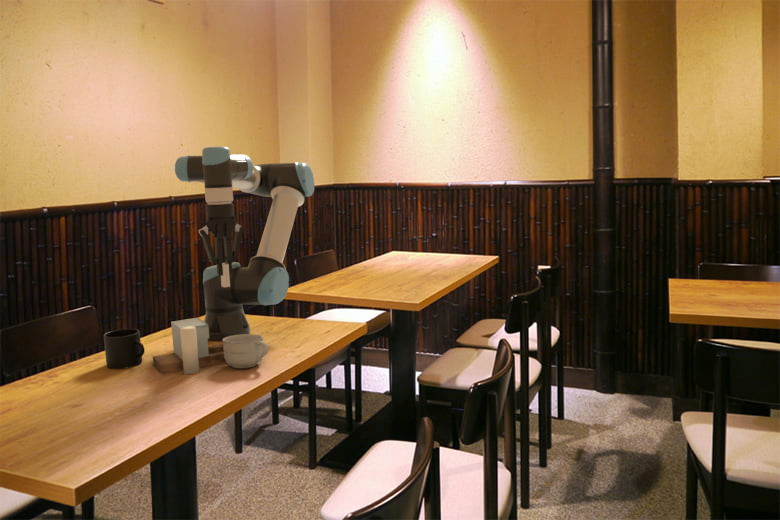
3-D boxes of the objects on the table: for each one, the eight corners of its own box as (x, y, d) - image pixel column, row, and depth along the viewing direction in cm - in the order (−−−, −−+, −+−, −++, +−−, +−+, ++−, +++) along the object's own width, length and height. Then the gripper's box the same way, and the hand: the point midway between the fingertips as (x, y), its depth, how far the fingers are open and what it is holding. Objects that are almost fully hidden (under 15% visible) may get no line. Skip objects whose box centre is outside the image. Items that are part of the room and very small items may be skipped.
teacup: (216, 366, 183) (214, 338, 182) (249, 357, 191) (247, 330, 190) (246, 376, 174) (244, 346, 173) (280, 366, 182) (278, 337, 181)
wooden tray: (222, 352, 197) (220, 332, 196) (233, 360, 189) (231, 339, 188) (153, 365, 187) (151, 344, 186) (162, 374, 179) (160, 352, 178)
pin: (197, 368, 182) (193, 325, 181) (201, 372, 179) (197, 328, 177) (182, 371, 180) (178, 328, 179) (186, 375, 177) (182, 330, 175)
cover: (200, 347, 193) (197, 317, 192) (210, 355, 185) (208, 324, 184) (173, 352, 190) (171, 321, 188) (183, 360, 181) (180, 328, 180)
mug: (133, 371, 182) (130, 338, 181) (99, 367, 186) (95, 336, 185) (157, 361, 191) (154, 330, 190) (123, 358, 195) (120, 327, 194)
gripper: (238, 201, 193) (243, 281, 197) (192, 204, 187) (198, 287, 190) (247, 202, 187) (252, 285, 191) (199, 205, 180) (206, 291, 184)
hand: (225, 286), depth 190 cm, fingers closed
